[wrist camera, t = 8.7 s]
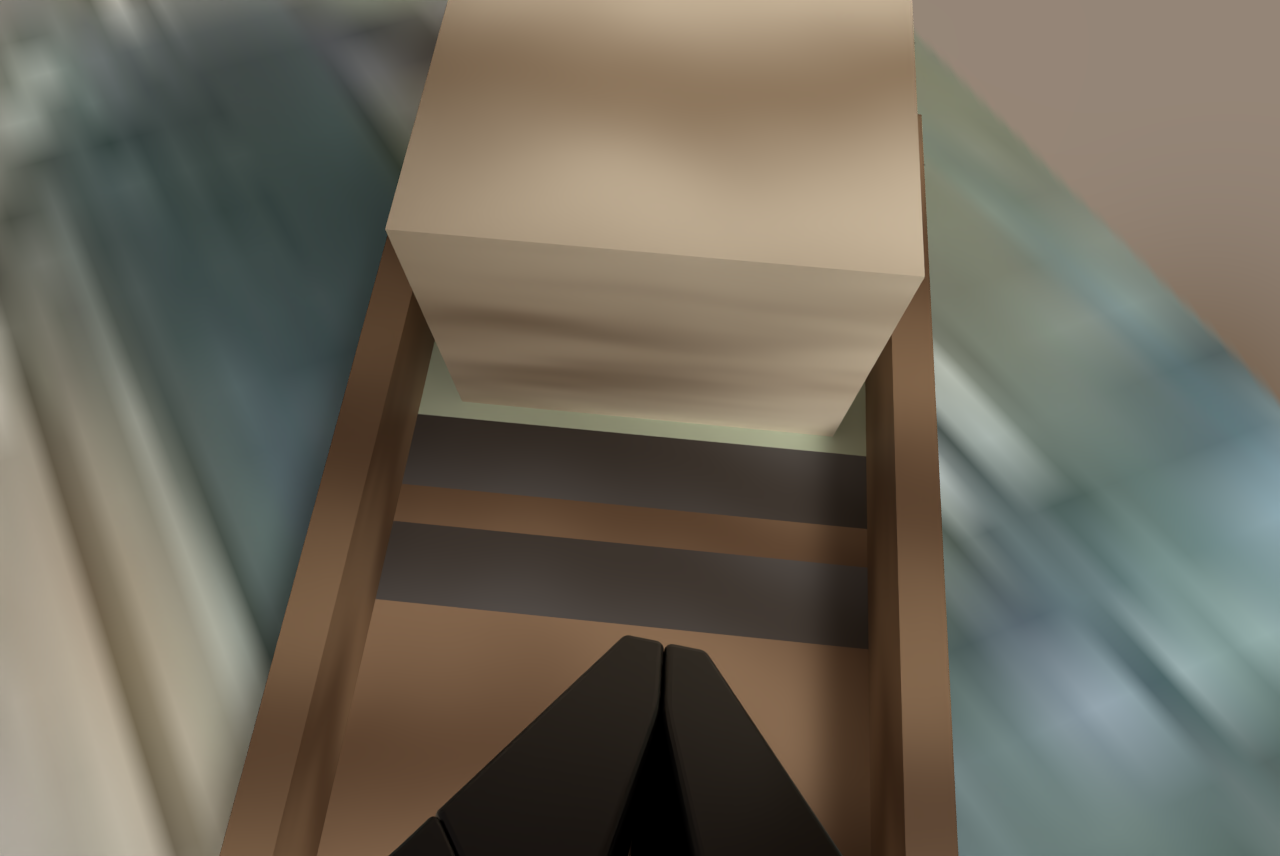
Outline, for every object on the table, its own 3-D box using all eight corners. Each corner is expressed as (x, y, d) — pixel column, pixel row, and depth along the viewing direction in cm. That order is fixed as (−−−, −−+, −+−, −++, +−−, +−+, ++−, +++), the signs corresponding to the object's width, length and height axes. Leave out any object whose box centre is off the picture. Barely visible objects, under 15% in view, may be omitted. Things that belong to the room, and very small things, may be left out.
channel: (908, 1075, 17) (972, 1143, 14) (252, 998, 18) (168, 1046, 14) (886, 196, 26) (921, 114, 23) (455, 160, 27) (430, 74, 23)
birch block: (832, 436, 22) (924, 276, 15) (462, 401, 22) (385, 229, 15) (834, 196, 25) (910, -27, 18) (510, 169, 25) (464, -61, 18)
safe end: (893, 473, 22) (936, 421, 19) (391, 425, 23) (352, 367, 20) (886, 196, 26) (921, 114, 23) (455, 160, 27) (431, 75, 23)
